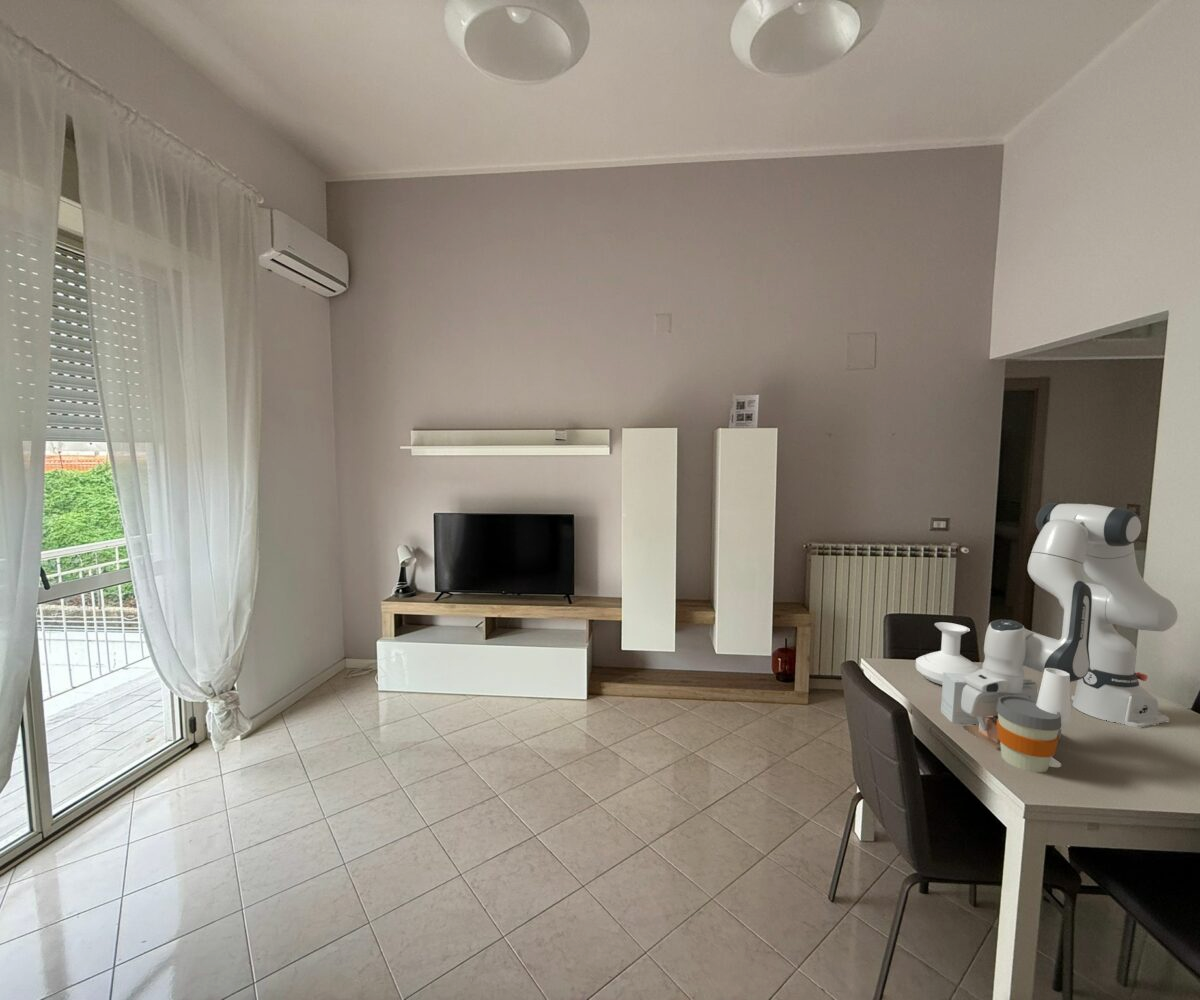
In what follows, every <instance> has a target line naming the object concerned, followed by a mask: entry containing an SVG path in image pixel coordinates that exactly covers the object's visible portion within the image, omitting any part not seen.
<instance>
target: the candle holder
mask: <svg viewBox="0 0 1200 1000" xmlns="http://www.w3.org/2000/svg"><path fill="white" fill-rule="evenodd" d="M934 626H935V627H936V628H937V629H938V630H939V631H941V643H940V644H941V645H940V650H938V651H937V650H936V651H933V652H930V653H926V654H923V655H921V656H918V657H917V658H915V669H916V670H917V671H918V672H919V673H920V674H921V675H923V677H924V678H926V679H927V680H928V681H931V682H933V683H935V684H938V685H941V686H942V685H943V672H945V673H960V674H971V673H973V672H976V671H978V670H980V669H981V668H980V667H979V666H978V665H977V664H976V663H974V662H972V660H970V659H968V658H966V657H964V656H963V654H961V653H960V652H961V639H962V635H964V634H966V633H968V632H970V631H971V630H970V629H971V628H969V627H967V626H965V625H961V624H957V623H952V622H943V621H942V622H941V621H940V622H935V623H934Z"/></svg>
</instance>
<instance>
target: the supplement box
mask: <svg viewBox="0 0 1200 1000" xmlns="http://www.w3.org/2000/svg"><path fill="white" fill-rule="evenodd" d="M966 675H968V674H960V673H945V672H943V685H941V686H942V688H941V702H940V703H941V705H940V712H941V714H943V715H944V716H945V718H946V719H948V721H949V722H951V723H952V722H953V723H952V724H961V723H965V724H964V725H971V724H976V725H979V721H978V719H977V717H972V716H970V715H969V714H967V713H965V712H964V711H963V710H962V708H961V698H962V691H963V688H964V686H965V685H967V683H965V682H964V677H965V676H966Z"/></svg>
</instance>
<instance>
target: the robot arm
mask: <svg viewBox="0 0 1200 1000" xmlns="http://www.w3.org/2000/svg"><path fill="white" fill-rule="evenodd" d="M1035 527H1036V528H1037V530H1038V532H1039V534H1038V536H1037V537H1036V540H1035V542H1034V543H1033V546H1032V550H1031V553H1030V556H1029V558H1028V563H1027V572H1028V575H1029V577H1030V579H1031V580H1032V581H1033V582H1034V583H1035V584H1036V585H1037V586H1038V587H1040V588H1041V589H1043V590H1044V591H1046V592H1047V593H1049V594H1051V595H1052V596H1054V597H1055V598H1056V599H1057V600H1058V602H1059V605H1060V607H1061V608H1062V609H1063V620H1062V629H1061V630H1062V631H1061V637H1060V638H1059V639H1057V638H1054V637H1050V636H1047V635H1043V634H1041V633H1038V632H1035V631H1033V630H1032V631H1031V630H1029V629H1027V628H1026V627H1025V626H1024V625H1023V624H1022V623H1021V622H1018V621H1016V620H1012V619H996V620H992V621H990V623H989V624H988V626H987V629H986V632H985V635H984V636H985V637H984V641H983V642H984V643H983V644H984V645H983V653H984V660H983V663H982V668H980V670H978V671H976V672H973V673H971V674H968V675H966V676H965V677H964V682H965V683H967V685H965V686H964V688H963V691H962V698H961V708H962V710H963V711H964V712H965V713H967V714H969V715H970V716H972V717H977V719H978V721H979V722H980V723H979V728H980V729H981V730H983V731H989V730H990V729H989V728H990V725H989V724H987V723H986V721H985V720H987V716H998V713H997V711H996V708H997V703H998V699H999V698H1000V697H1002V696H1020V697H1026V698H1030V699H1034V700H1037V699H1038V695H1039V692H1038V684H1037V683H1036V682H1035V681H1033V680H1032V679H1025V677H1024V676H1025V672H1024V667H1026V668H1028V669H1031V670H1034V671H1036V672H1039V673H1044V669H1045V668H1054V669H1059V670H1062V671H1065V672H1067V673H1069V674H1070V683H1074V682H1077V683H1076V686H1075V690H1074V691H1075V692H1074V695H1073V694H1072V695H1071V696H1070V700H1072V701H1073V702H1072V706H1073V707H1074V708H1075V709H1077V711H1079V712H1081V713H1084V714H1086V715H1088V716H1091V717H1093V718H1096V719H1100V720H1103V721H1106V720H1107V722H1111V723H1114V722H1116V723H1115V724H1120V723H1121V724H1120V725H1124V724H1125V725H1124V726H1127V725H1128V726H1127V727H1131V726H1133V727H1132V728H1134V727H1137V728H1136V729H1140V728H1139V727H1144V726H1149V725H1153V726H1155V725H1154V724H1158V723H1162V722H1166V721H1170V718H1169V717H1168V716H1167V715H1166V714H1163V713H1161V712H1160V711H1159V702H1158V700H1157V698H1156V697H1155V696H1153V695H1152V694H1151V693H1150V692H1149V691H1147V690H1146V689H1145V688H1144V687H1142V686H1141V685H1140V682H1139V680H1141V681H1142V682H1146V681H1147V680H1148V675H1147V674H1145V673H1141V672H1136V671H1135V670H1136V661H1137V660H1136V659H1137V648H1136V647H1135V645H1134V644H1133V643H1132V642H1131V641H1130V640H1129V639H1127V638H1126V637H1125V636H1122V635H1121V634H1119V633H1118V631H1117V630H1116V629H1115V627H1114V625H1116V626H1120V627H1125V628H1130V629H1134V630H1139V631H1147V632H1148V631H1149V632H1160V633H1162V632H1165V631H1167V630H1170V629H1171V628H1173V627H1174V625H1175V624H1176V622H1177V619H1178V611H1177V607H1176V606H1175V605H1174V603H1173V602H1172V601H1171V600H1170V599H1168V598H1166V597H1164V596H1163V595H1161V594H1160V593H1158V592H1157V591H1155V590H1154V589H1153V588H1152V587H1151V586H1150V585H1149V584H1148V583H1147V582H1146V580H1144V579H1143V577H1142V576H1141V574H1140V572H1139V568H1138V565H1137V564H1138V563H1137V558H1136V552H1135V551H1136V550H1135V544H1134V543H1135V542H1136V541H1137V540H1138V538H1139V537H1140V534H1141V532H1142V521H1141V518H1140V516H1139V515H1138V514H1137V513H1136V512H1135V511H1133V510H1131V509H1127V508H1123V507H1113V506H1112V507H1111V506H1107V505H1102V504H1101V505H1100V504H1095V503H1093V504H1092V503H1087V504H1085V503H1064V502H1050V503H1046V504H1045V505H1044V506H1042V507H1040V509H1039V510H1038V512H1037V514H1036V518H1035ZM1083 570H1084V572H1085V574H1086V576H1088V578H1090V579H1091V580H1093V581H1094V582H1096V583H1097V584H1096V583H1091V582H1085V580H1084V578H1083ZM1158 725H1159V724H1158ZM1149 727H1150V726H1149ZM1144 728H1145V727H1144Z"/></svg>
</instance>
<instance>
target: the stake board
mask: <svg viewBox="0 0 1200 1000" xmlns="http://www.w3.org/2000/svg"><path fill="white" fill-rule="evenodd" d="M963 728H964V729H965V730H964V729H963ZM962 729H963V730H964V731H966V730H967V731H968V732H967V731H966V732H967V733H969V732H970V733H969V734H971V735H972V734H973V736H974V737H975V736H976V737H975V738H977V739H978V738H979V739H978V740H980V741H982V742H984V743H985V744H986V745H988V746H989V745H990V747H991V748H993V749H995V750H996V751H1001V746H1000V743H997V742H995V741H994V740H992V739H990V738H989V737H987V736H986V735H984V734H982V733H981V732H979V725H971V724H967V725H963V726H962Z"/></svg>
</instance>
